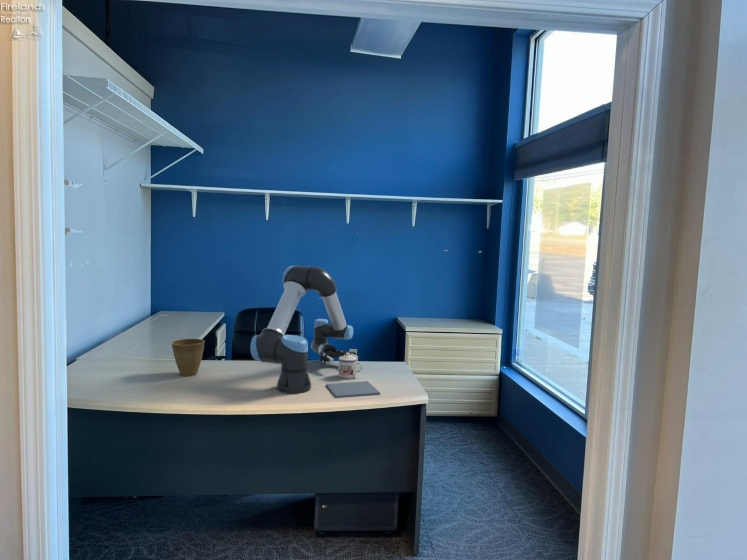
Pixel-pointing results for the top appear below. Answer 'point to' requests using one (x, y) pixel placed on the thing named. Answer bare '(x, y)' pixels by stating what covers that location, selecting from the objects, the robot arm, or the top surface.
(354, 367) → the teacup with lid
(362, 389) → the charcoal mat
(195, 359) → the plant pot
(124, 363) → the top surface
